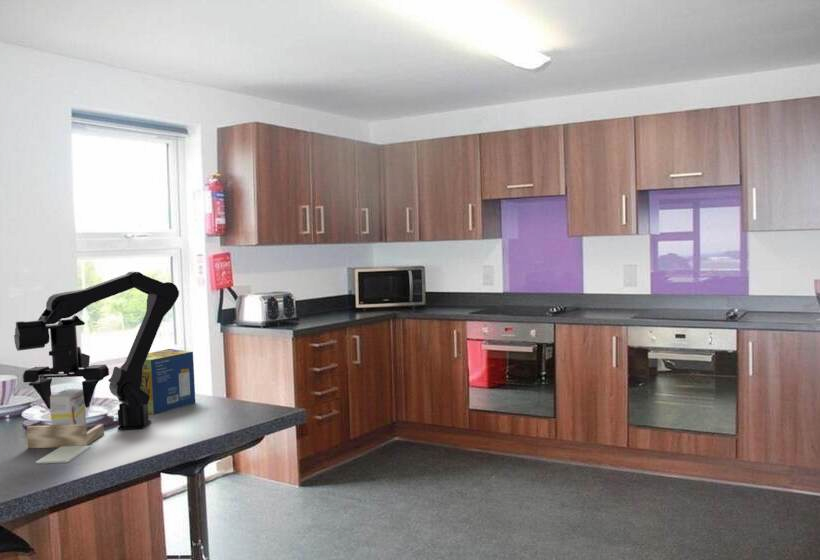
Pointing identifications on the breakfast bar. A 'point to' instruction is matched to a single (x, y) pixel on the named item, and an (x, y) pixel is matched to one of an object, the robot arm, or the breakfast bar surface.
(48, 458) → the coaster pad
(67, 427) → the shelf bay
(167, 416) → the breakfast bar surface
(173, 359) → the protein box
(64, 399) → the ink box
